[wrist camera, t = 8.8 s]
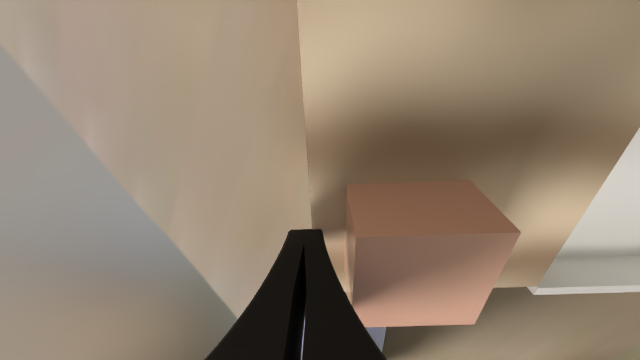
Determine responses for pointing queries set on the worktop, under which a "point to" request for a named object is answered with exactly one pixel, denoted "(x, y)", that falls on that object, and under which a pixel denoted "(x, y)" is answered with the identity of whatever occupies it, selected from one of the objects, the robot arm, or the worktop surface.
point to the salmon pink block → (423, 252)
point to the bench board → (470, 107)
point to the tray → (603, 238)
